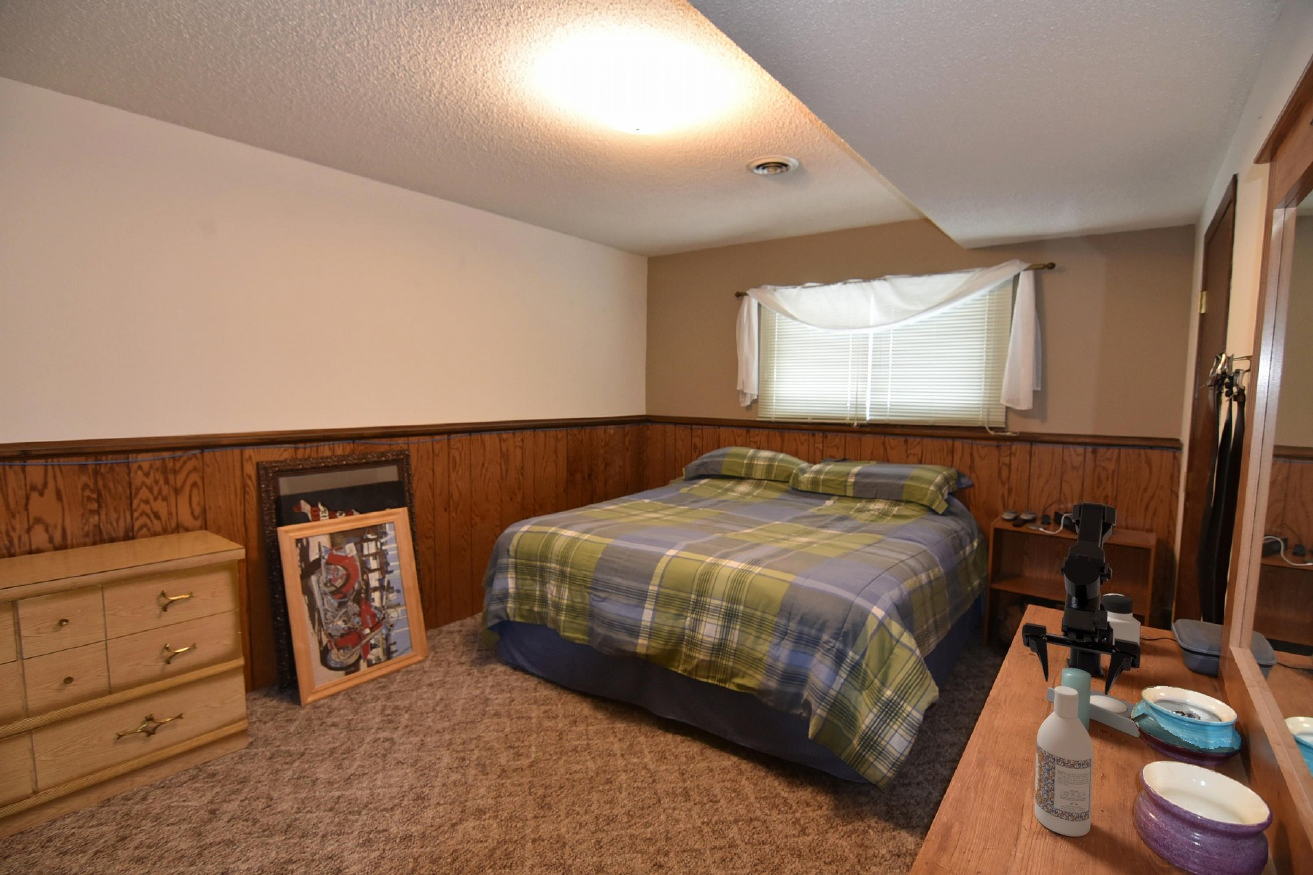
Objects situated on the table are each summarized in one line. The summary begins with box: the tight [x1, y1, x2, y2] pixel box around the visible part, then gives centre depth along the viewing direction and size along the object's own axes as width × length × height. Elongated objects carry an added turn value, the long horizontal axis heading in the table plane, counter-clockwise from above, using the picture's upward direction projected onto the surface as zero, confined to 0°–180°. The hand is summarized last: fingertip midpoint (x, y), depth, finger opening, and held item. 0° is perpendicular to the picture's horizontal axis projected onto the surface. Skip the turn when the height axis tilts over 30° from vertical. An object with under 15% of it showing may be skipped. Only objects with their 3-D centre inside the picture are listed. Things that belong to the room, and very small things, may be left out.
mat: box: [1090, 689, 1136, 719], centre depth 126 cm, size 9×9×1 cm
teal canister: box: [1060, 667, 1092, 732], centre depth 120 cm, size 4×4×10 cm
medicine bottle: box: [1101, 593, 1142, 646], centre depth 155 cm, size 7×7×12 cm
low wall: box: [1046, 686, 1141, 738], centre depth 123 cm, size 16×1×2 cm, turn 29°
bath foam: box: [1034, 685, 1094, 837], centre depth 94 cm, size 7×7×20 cm
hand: (1075, 687), depth 120 cm, fingers open, 9 cm apart
